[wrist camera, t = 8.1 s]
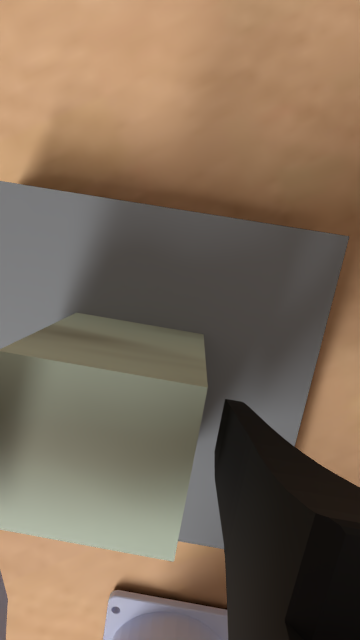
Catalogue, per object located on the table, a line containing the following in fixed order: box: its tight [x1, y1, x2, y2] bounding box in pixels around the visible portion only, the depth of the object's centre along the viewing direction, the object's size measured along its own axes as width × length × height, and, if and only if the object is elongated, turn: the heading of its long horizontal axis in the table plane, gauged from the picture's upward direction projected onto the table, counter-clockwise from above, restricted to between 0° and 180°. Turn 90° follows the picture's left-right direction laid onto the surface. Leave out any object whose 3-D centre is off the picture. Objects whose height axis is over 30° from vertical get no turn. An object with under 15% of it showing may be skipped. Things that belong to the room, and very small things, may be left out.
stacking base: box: [0, 181, 349, 549], centre depth 14 cm, size 14×14×3 cm
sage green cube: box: [0, 313, 208, 562], centre depth 10 cm, size 5×5×5 cm
